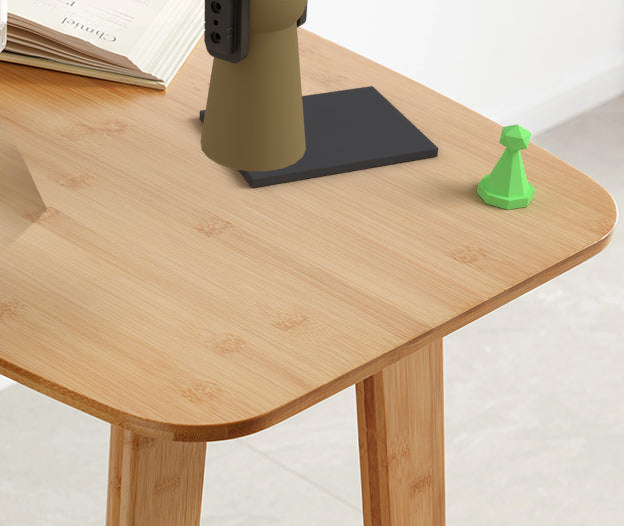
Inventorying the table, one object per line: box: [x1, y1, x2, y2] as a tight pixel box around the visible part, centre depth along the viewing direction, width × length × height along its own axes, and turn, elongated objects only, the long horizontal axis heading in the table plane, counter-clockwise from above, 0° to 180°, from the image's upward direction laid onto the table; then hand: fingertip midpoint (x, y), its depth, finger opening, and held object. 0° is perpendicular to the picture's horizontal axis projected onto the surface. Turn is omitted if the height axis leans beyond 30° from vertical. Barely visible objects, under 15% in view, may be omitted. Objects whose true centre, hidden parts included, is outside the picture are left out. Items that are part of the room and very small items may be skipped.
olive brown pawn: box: [200, 0, 309, 171], centre depth 62 cm, size 6×6×11 cm
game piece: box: [476, 124, 536, 211], centre depth 85 cm, size 4×4×6 cm
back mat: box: [199, 85, 439, 189], centre depth 92 cm, size 16×12×1 cm
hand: (257, 38), depth 61 cm, fingers closed on olive brown pawn, 5 cm apart
